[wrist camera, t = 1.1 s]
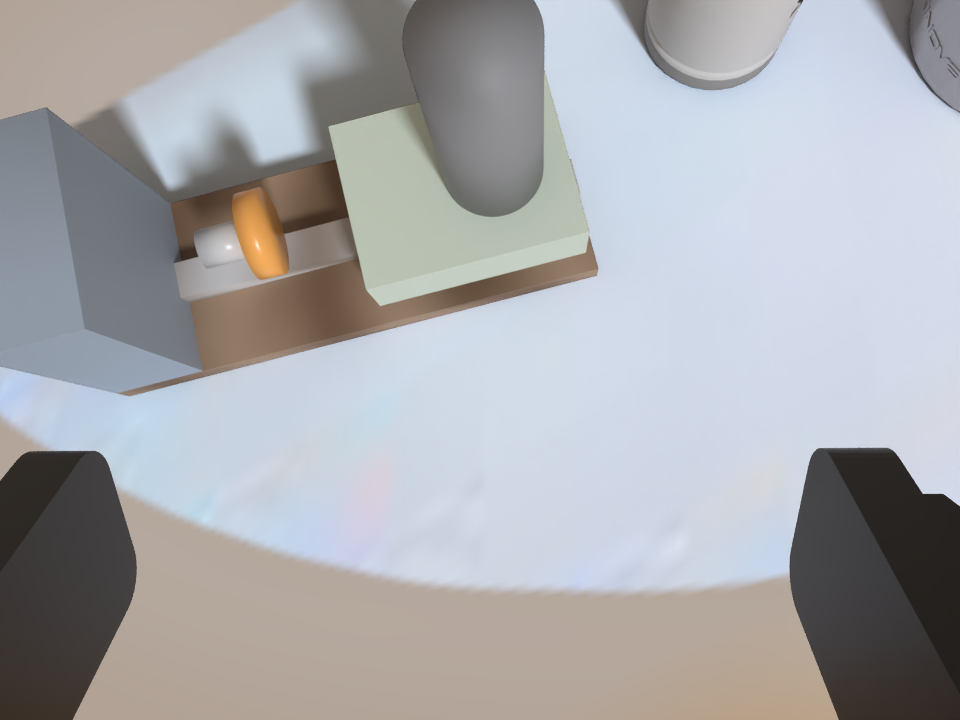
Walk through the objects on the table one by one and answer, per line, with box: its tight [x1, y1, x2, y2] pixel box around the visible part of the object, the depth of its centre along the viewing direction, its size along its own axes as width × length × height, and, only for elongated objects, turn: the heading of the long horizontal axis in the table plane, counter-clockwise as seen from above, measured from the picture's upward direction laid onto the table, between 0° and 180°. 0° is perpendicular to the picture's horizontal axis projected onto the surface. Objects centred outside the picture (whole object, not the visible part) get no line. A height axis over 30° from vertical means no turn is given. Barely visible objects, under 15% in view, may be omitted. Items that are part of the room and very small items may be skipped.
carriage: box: [328, 0, 590, 306], centre depth 31 cm, size 9×7×13 cm
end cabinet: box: [0, 108, 203, 393], centre depth 34 cm, size 4×8×10 cm, turn 14°
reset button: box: [194, 187, 289, 280], centre depth 35 cm, size 3×4×4 cm
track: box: [118, 159, 598, 396], centre depth 39 cm, size 22×8×2 cm, turn 104°
